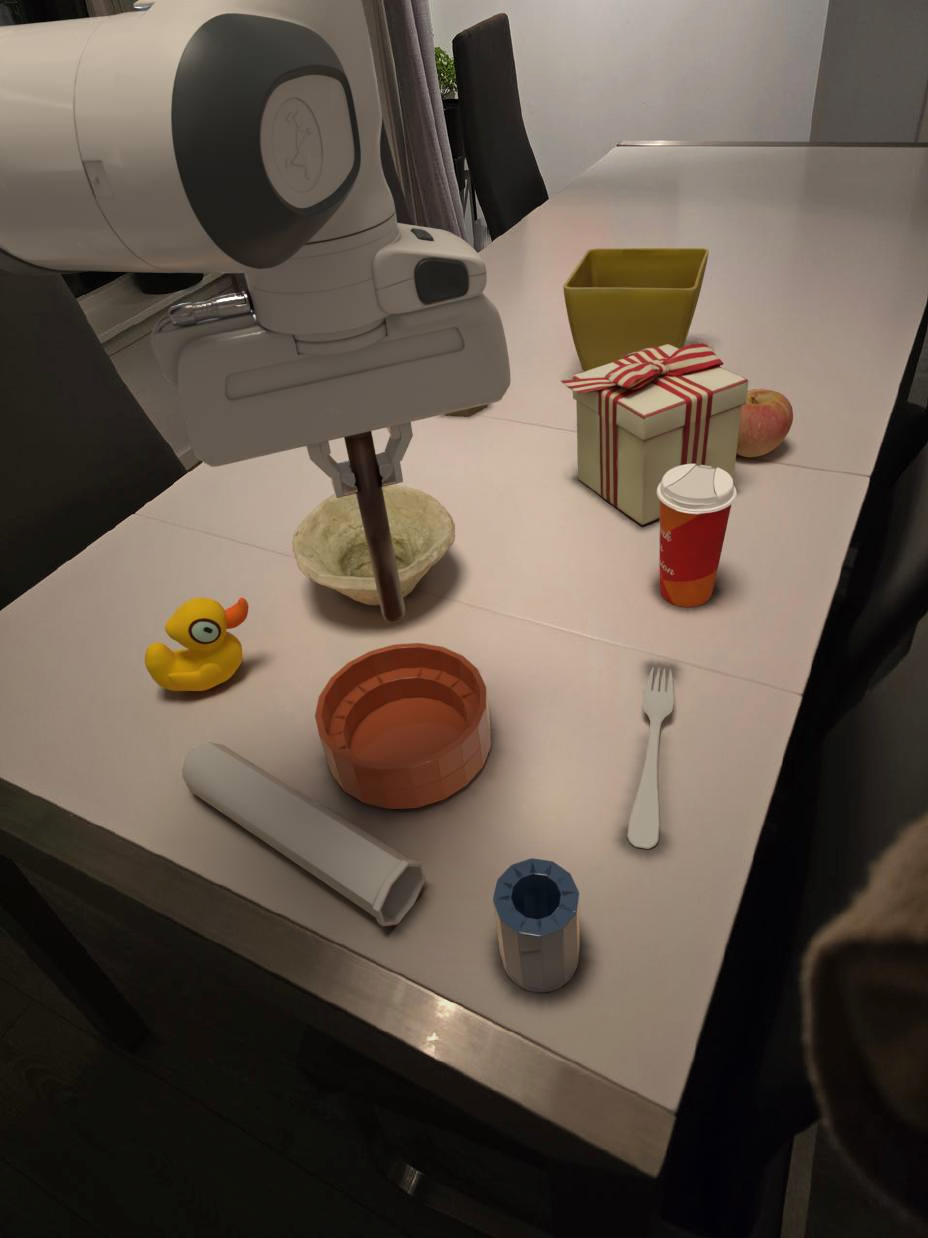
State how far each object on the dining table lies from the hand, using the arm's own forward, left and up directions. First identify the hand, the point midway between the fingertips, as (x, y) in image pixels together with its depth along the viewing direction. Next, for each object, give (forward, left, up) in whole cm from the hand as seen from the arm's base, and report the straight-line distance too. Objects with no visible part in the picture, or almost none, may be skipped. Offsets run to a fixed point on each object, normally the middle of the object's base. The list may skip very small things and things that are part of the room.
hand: (368, 486), depth 54 cm
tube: (-12, -4, -30) cm, 32 cm away
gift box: (+39, +35, -30) cm, 61 cm away
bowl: (+2, +28, -30) cm, 41 cm away
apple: (+56, +36, -30) cm, 73 cm away
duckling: (-18, +19, -30) cm, 40 cm away
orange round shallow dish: (-1, +3, -29) cm, 29 cm away
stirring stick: (0, 0, -12) cm, 12 cm away
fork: (+20, -6, -30) cm, 36 cm away
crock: (+3, -20, -29) cm, 36 cm away
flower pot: (+54, +66, -30) cm, 90 cm away
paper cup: (+33, +13, -30) cm, 46 cm away
